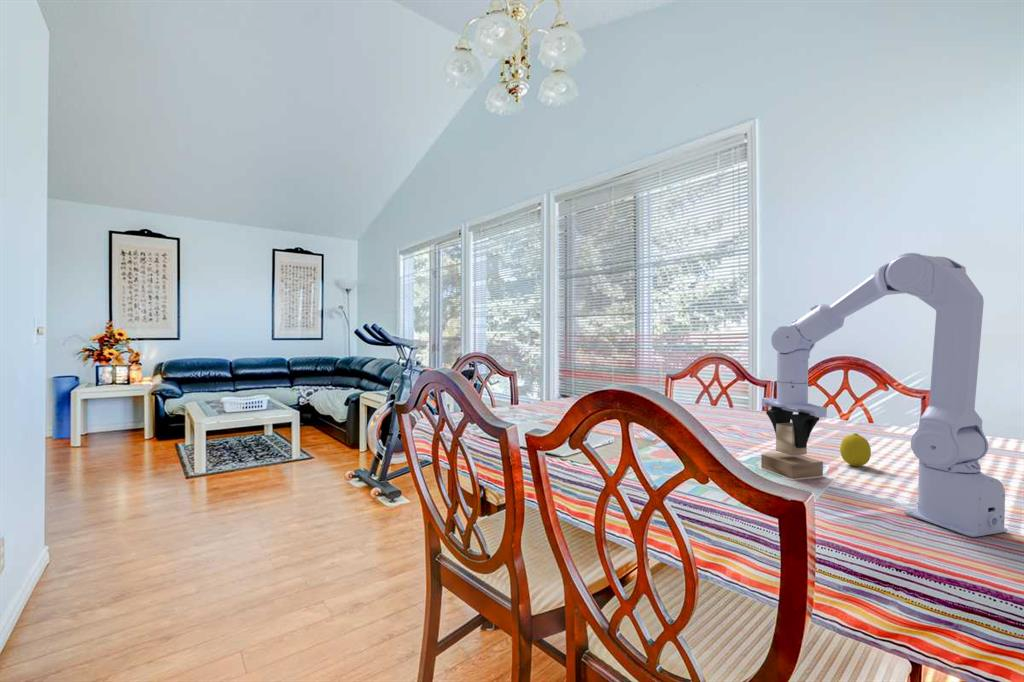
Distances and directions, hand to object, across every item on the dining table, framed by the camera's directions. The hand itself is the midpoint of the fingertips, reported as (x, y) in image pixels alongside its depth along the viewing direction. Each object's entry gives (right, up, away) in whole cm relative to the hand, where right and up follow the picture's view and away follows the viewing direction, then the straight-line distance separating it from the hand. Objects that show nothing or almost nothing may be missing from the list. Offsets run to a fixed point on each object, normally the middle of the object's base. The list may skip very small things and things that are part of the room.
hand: (791, 444), depth 97 cm
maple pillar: (0, -2, 0) cm, 2 cm away
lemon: (+17, -7, +5) cm, 19 cm away
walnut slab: (0, -6, 0) cm, 6 cm away
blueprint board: (+1, -6, -1) cm, 7 cm away
